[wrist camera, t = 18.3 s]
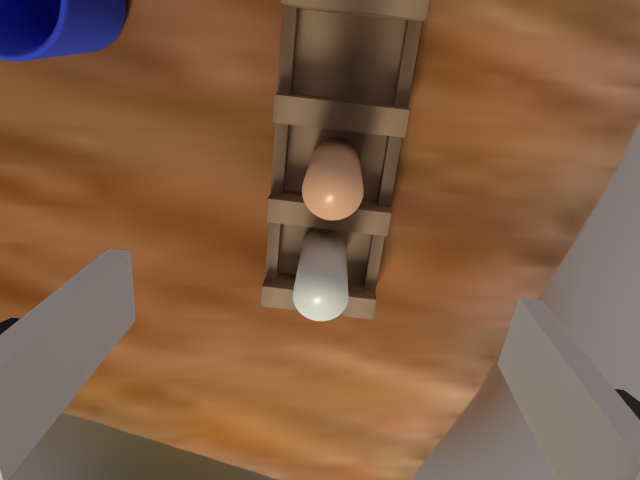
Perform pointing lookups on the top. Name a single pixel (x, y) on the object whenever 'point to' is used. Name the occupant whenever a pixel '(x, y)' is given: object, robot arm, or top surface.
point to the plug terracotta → (333, 180)
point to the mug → (58, 27)
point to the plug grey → (321, 276)
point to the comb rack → (339, 130)
